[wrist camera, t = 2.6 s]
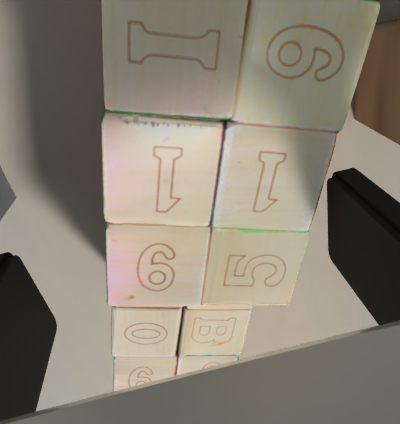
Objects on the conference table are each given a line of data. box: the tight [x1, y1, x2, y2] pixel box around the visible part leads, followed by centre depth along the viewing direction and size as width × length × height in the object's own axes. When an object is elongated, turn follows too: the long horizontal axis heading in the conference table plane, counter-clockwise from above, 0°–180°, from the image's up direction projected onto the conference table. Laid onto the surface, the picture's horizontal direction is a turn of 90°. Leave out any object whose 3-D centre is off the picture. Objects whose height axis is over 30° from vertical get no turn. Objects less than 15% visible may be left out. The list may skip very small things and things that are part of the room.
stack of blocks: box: [101, 0, 380, 392], centre depth 16 cm, size 21×6×12 cm, turn 173°
